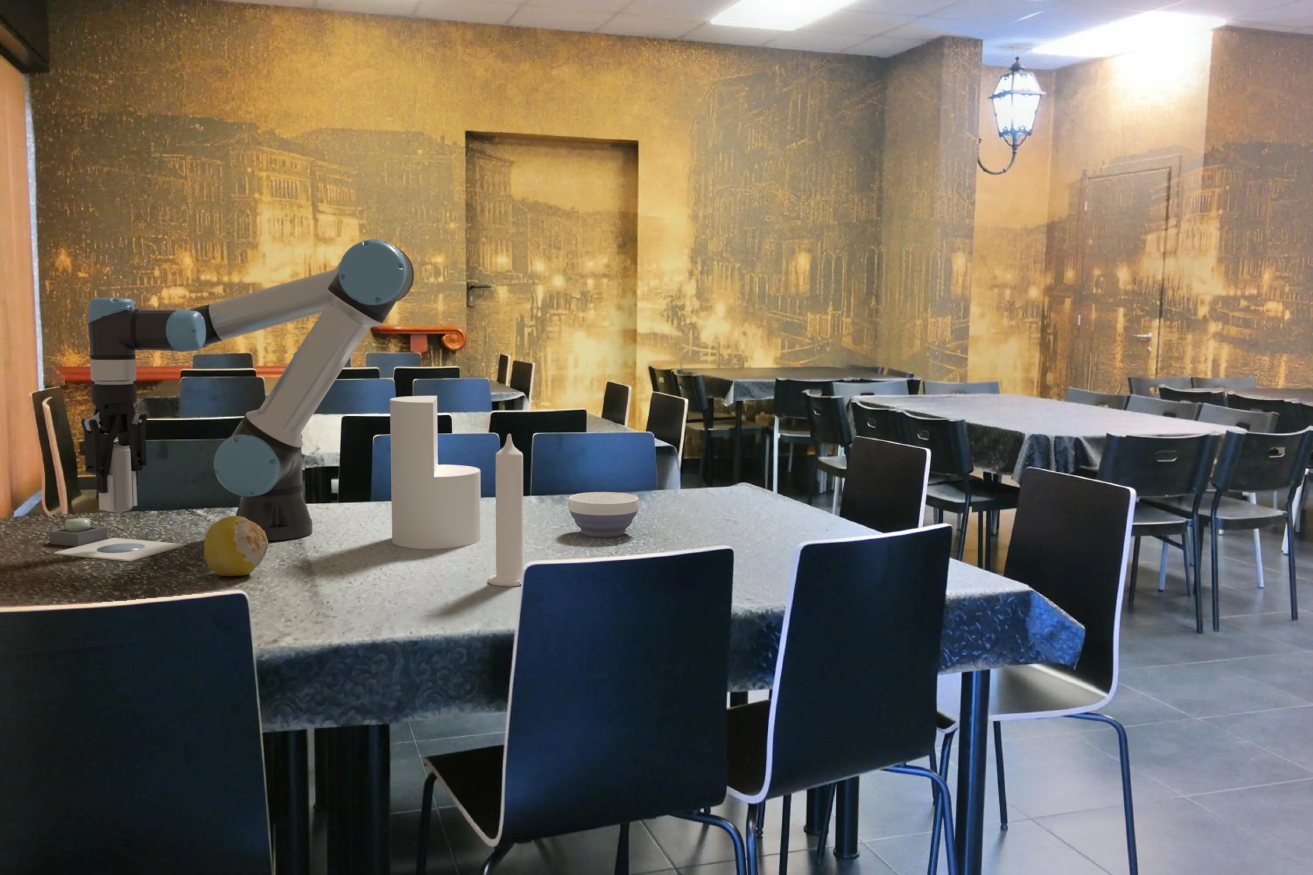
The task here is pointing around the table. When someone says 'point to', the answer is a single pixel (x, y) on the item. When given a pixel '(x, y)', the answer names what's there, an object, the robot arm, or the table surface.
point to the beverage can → (121, 478)
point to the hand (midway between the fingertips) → (118, 507)
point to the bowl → (603, 512)
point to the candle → (509, 516)
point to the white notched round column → (429, 482)
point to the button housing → (77, 536)
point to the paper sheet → (120, 549)
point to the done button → (77, 525)
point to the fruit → (234, 546)
